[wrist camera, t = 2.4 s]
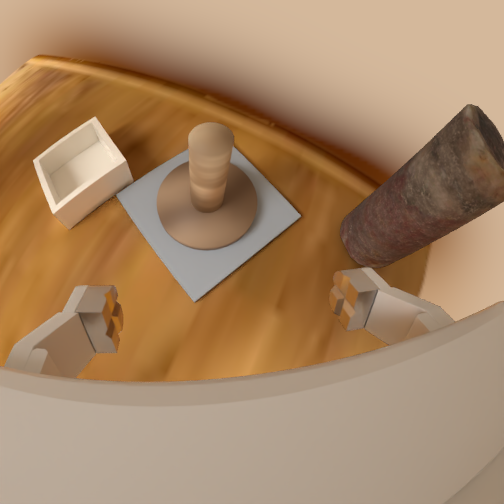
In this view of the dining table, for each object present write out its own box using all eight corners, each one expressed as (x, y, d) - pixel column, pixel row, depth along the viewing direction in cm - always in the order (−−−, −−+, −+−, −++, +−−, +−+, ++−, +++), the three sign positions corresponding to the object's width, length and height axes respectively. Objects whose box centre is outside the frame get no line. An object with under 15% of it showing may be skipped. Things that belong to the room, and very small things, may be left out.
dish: (46, 178, 25) (32, 160, 21) (103, 137, 28) (95, 116, 24) (69, 229, 24) (53, 214, 20) (133, 181, 27) (126, 160, 23)
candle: (386, 215, 31) (499, 123, 13) (395, 271, 29) (535, 200, 10) (334, 208, 30) (448, 84, 11) (341, 270, 28) (496, 174, 9)
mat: (117, 197, 26) (115, 194, 26) (218, 135, 31) (218, 132, 30) (194, 302, 24) (194, 301, 24) (299, 218, 29) (301, 215, 28)
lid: (140, 196, 26) (117, 132, 17) (215, 149, 29) (223, 81, 20) (197, 271, 25) (195, 231, 15) (275, 212, 28) (308, 154, 19)
